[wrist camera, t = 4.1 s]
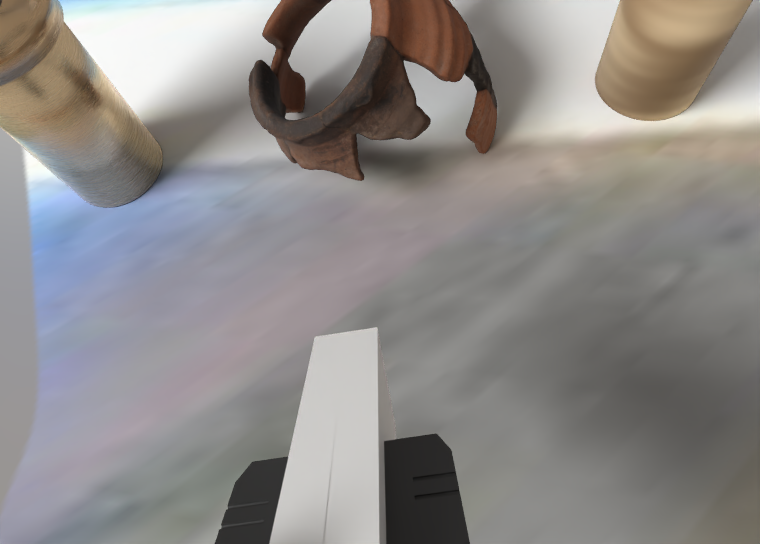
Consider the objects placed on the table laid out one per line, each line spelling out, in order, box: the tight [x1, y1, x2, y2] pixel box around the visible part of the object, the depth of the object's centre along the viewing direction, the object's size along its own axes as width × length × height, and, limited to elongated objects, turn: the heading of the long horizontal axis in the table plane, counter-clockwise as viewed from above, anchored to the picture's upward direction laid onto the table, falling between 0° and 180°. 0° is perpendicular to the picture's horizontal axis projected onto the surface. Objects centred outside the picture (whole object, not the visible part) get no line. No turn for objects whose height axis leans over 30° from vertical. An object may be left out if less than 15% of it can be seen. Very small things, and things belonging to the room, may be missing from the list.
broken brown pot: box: [249, 0, 497, 181], centre depth 24 cm, size 12×10×8 cm
